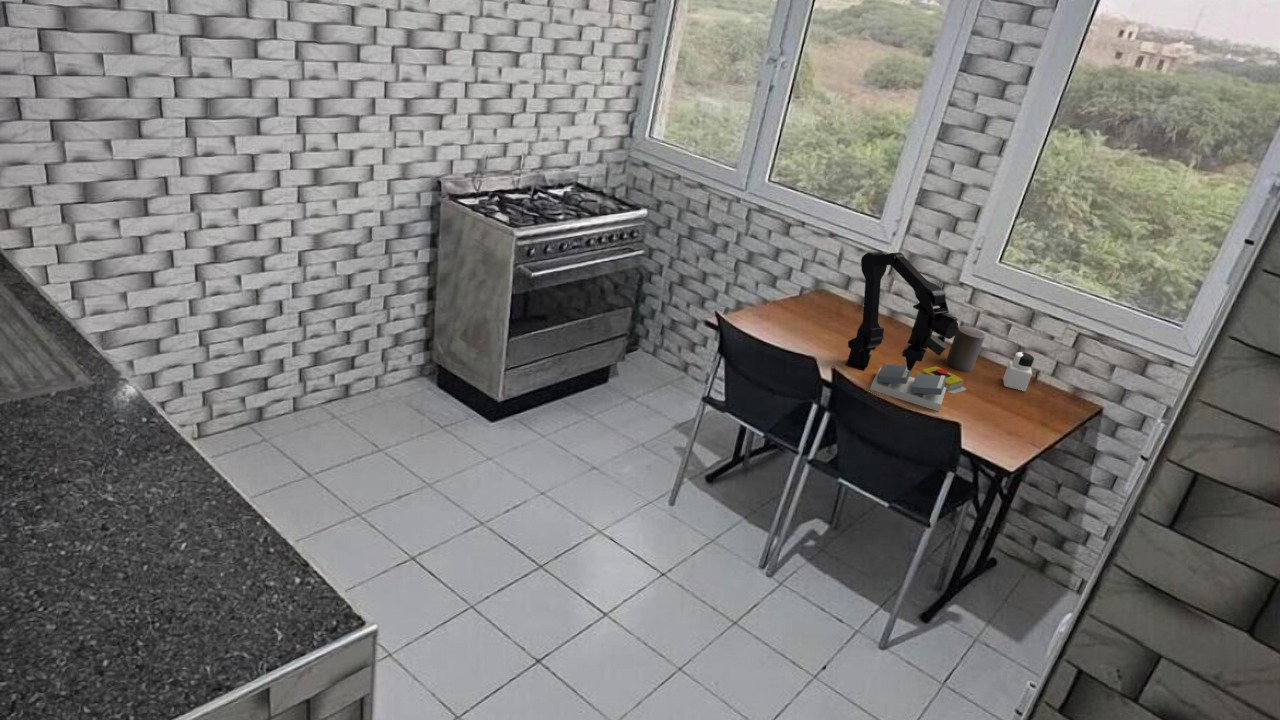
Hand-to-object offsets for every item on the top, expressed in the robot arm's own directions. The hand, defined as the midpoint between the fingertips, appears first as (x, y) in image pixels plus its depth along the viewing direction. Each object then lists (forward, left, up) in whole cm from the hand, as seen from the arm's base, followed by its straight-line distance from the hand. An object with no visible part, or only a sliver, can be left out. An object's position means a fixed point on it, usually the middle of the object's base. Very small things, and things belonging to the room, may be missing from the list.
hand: (909, 370), depth 271 cm
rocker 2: (+7, 0, -3) cm, 8 cm away
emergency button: (+10, +18, -9) cm, 23 cm away
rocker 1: (-4, 0, -3) cm, 5 cm away
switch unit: (+2, +1, -8) cm, 8 cm away
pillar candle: (+15, +39, -8) cm, 43 cm away
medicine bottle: (+34, +36, -8) cm, 50 cm away
